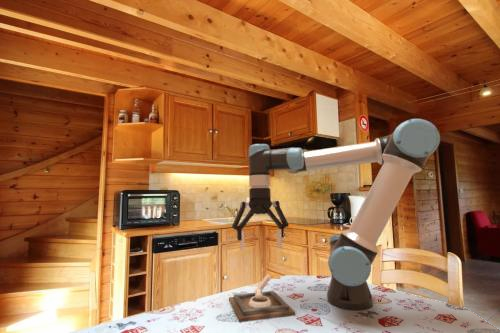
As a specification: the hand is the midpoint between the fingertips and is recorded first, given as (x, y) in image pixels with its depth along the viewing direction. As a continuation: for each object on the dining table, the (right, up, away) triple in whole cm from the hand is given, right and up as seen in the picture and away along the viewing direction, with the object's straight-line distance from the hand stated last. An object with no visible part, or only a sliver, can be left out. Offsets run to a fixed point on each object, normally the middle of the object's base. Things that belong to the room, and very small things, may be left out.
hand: (261, 248), depth 94 cm
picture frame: (-1, -19, -3) cm, 19 cm away
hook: (0, -18, -2) cm, 18 cm away
